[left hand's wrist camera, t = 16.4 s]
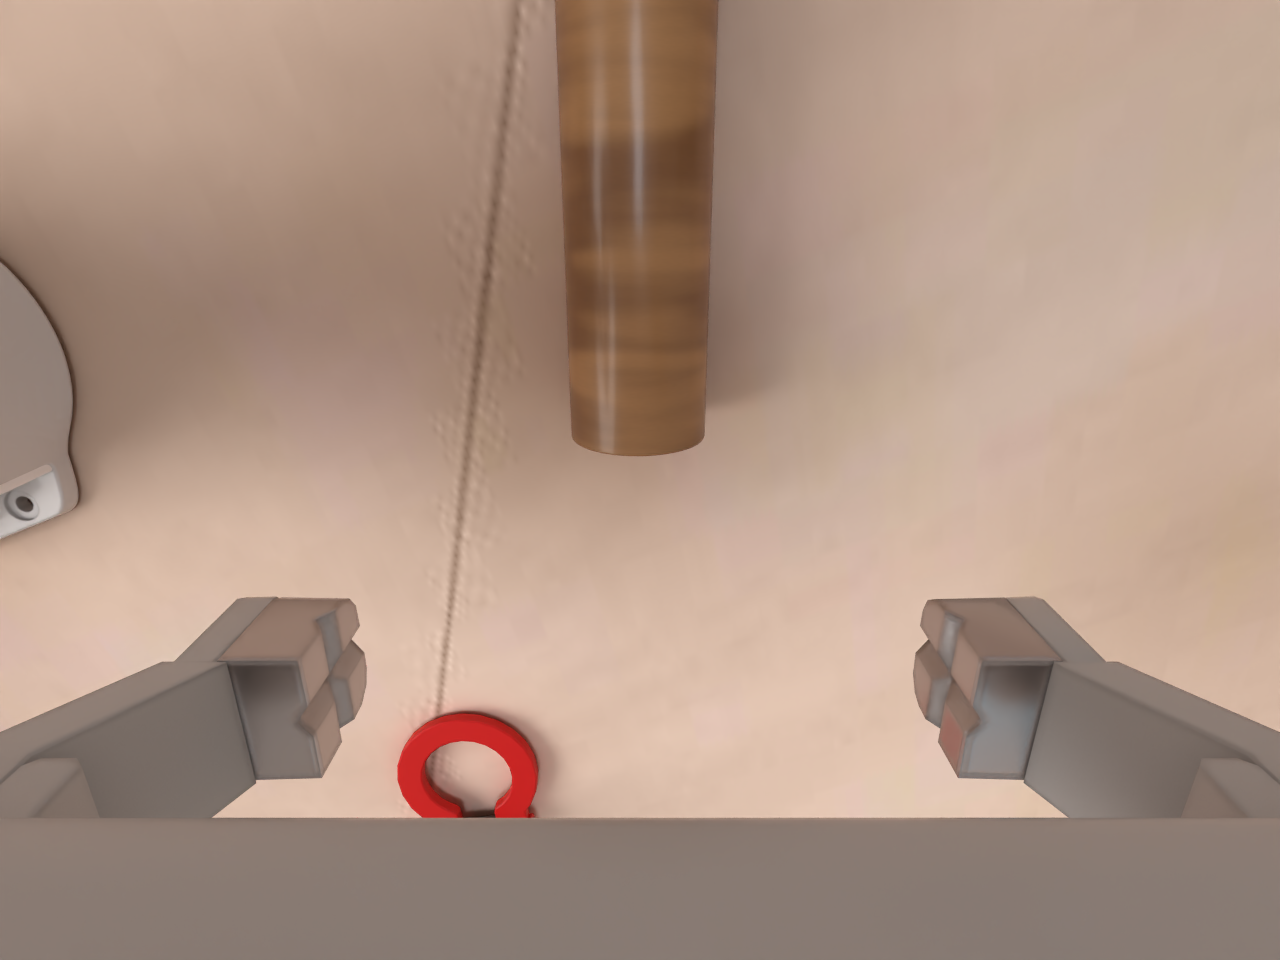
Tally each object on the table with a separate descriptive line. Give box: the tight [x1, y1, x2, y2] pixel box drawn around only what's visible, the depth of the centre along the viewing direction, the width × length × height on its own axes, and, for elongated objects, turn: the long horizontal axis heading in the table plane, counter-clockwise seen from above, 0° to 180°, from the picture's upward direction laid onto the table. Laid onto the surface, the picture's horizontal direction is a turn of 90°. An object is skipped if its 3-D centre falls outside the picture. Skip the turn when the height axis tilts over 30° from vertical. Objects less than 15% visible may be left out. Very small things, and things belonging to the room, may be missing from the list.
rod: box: [555, 0, 718, 456], centre depth 29 cm, size 25×6×6 cm, turn 0°
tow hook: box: [398, 713, 538, 818], centre depth 39 cm, size 8×13×9 cm
